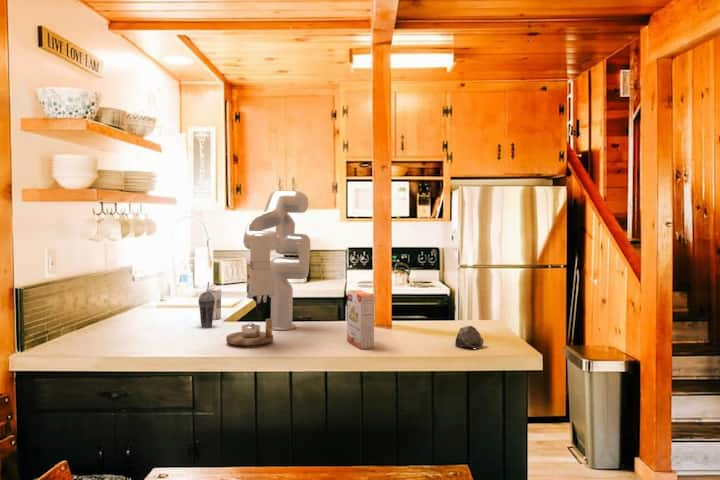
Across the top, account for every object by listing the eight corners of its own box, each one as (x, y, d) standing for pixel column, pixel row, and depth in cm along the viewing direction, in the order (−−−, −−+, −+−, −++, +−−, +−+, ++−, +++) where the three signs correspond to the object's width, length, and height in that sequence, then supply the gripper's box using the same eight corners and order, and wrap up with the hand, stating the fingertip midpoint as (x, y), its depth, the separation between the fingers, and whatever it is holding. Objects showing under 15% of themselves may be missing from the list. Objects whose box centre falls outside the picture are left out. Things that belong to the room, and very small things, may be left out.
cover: (239, 337, 225) (239, 325, 225) (244, 334, 232) (244, 322, 232) (257, 338, 225) (257, 326, 225) (261, 334, 232) (261, 322, 232)
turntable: (220, 344, 220) (220, 322, 220) (234, 334, 238) (234, 313, 238) (267, 345, 219) (267, 323, 219) (277, 335, 237) (277, 315, 237)
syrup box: (209, 317, 281) (209, 287, 281) (221, 318, 280) (221, 288, 280) (204, 319, 276) (204, 289, 275) (216, 320, 275) (216, 289, 274)
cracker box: (345, 341, 234) (346, 290, 233) (359, 340, 236) (360, 289, 235) (359, 349, 221) (360, 295, 220) (374, 348, 224) (375, 294, 223)
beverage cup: (194, 327, 257) (194, 282, 256) (204, 324, 264) (205, 280, 263) (208, 329, 254) (208, 283, 253) (218, 326, 261) (218, 281, 260)
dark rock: (476, 350, 221) (465, 325, 224) (456, 358, 226) (446, 334, 229) (488, 344, 230) (477, 321, 232) (469, 352, 235) (458, 328, 237)
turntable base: (231, 341, 230) (231, 339, 230) (257, 338, 236) (257, 336, 236) (242, 347, 221) (242, 345, 221) (268, 344, 227) (268, 341, 227)
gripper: (245, 268, 215) (246, 316, 217) (282, 265, 223) (282, 312, 225) (238, 265, 221) (238, 312, 223) (273, 262, 230) (274, 308, 231)
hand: (260, 312), depth 224 cm, fingers closed
